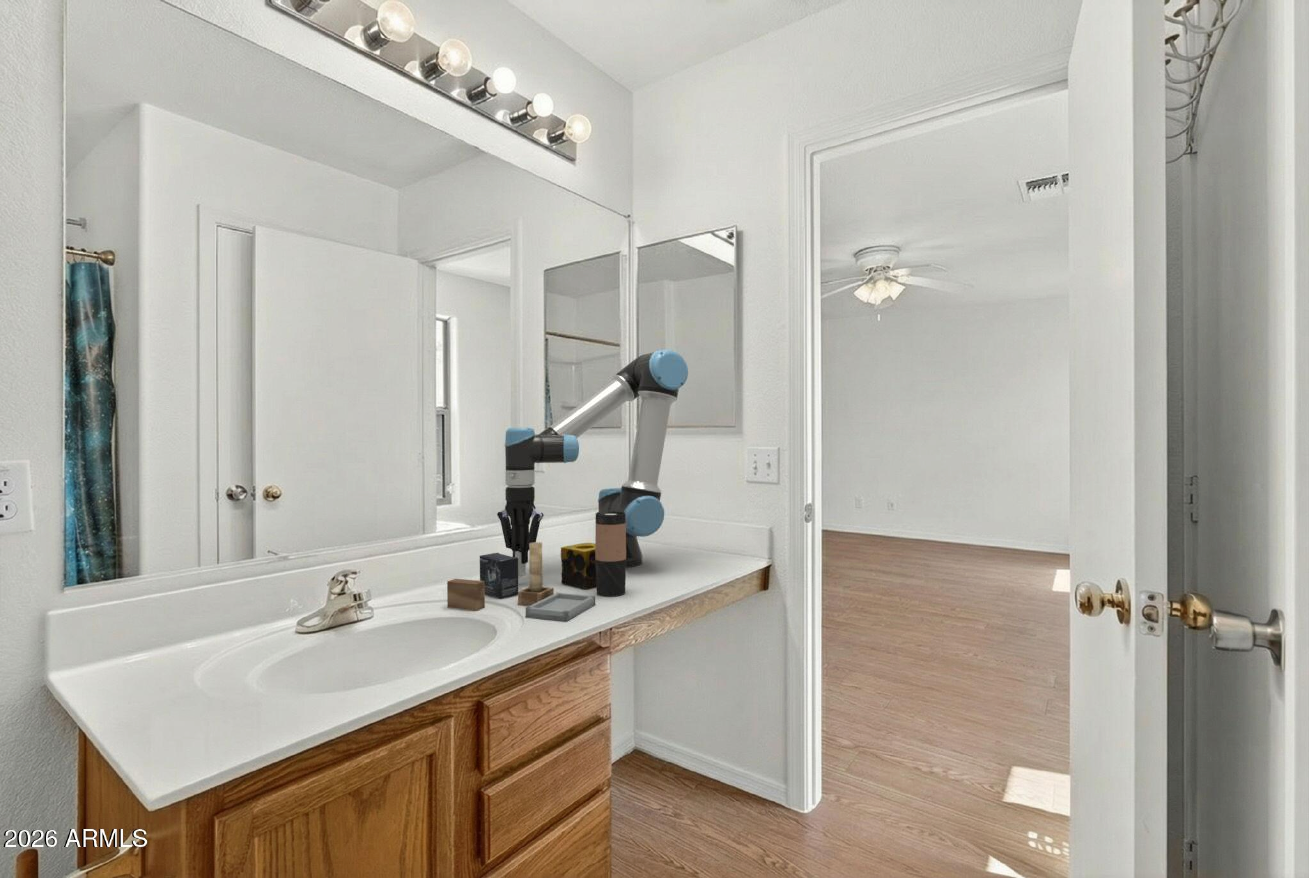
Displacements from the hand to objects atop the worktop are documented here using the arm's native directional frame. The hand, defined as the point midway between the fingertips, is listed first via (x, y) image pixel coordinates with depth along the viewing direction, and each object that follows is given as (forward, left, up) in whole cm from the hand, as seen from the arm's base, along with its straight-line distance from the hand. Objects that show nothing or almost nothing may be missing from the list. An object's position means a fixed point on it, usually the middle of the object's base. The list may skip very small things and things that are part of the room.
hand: (520, 575), depth 166 cm
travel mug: (0, +26, -3) cm, 26 cm away
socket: (+14, +13, -3) cm, 19 cm away
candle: (-7, +16, -3) cm, 18 cm away
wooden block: (+23, 0, -2) cm, 23 cm away
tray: (+18, +22, -2) cm, 29 cm away
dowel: (+14, +13, -3) cm, 19 cm away
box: (+10, 0, -3) cm, 10 cm away
